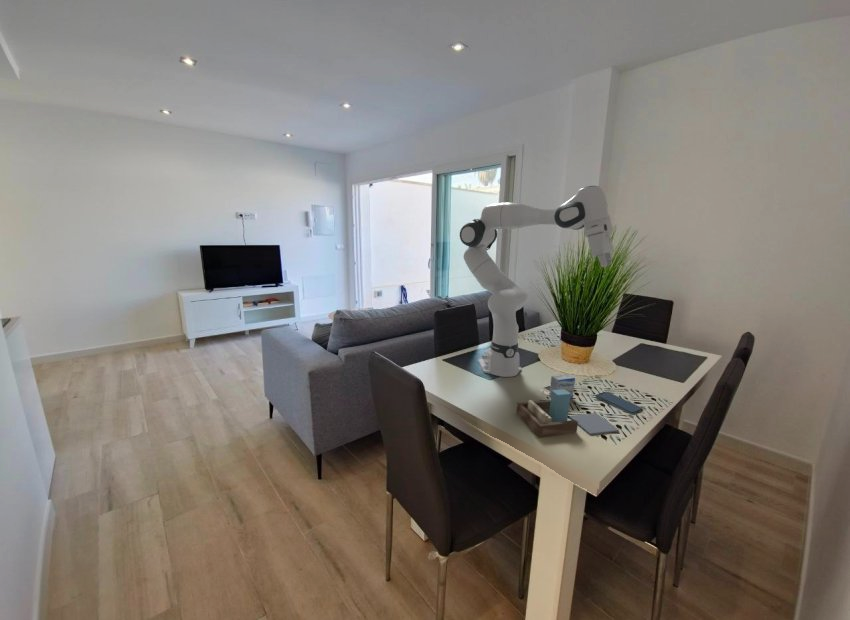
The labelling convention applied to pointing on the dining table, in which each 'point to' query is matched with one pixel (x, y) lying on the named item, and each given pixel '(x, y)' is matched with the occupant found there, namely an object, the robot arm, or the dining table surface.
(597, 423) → the grey mat
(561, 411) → the teal rectangular block
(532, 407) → the offcut stack
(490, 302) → the robot arm
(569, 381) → the medicine box
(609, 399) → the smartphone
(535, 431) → the tray
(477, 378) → the dining table surface
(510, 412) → the dining table surface
